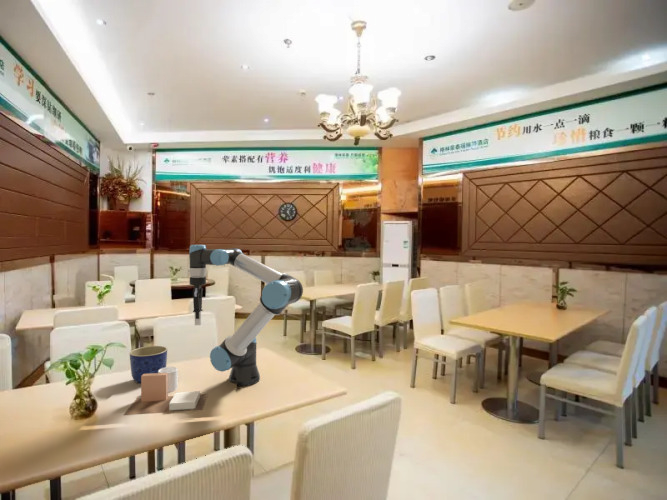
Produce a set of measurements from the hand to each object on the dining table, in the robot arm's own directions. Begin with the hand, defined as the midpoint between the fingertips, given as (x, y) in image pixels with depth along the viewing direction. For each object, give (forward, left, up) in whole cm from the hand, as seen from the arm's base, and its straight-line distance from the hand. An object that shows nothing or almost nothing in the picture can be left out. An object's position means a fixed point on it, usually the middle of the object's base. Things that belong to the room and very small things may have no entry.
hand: (197, 324), depth 182 cm
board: (+8, +23, -29) cm, 38 cm away
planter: (+25, -9, -30) cm, 40 cm away
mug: (+14, +7, -30) cm, 33 cm away
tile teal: (+1, +19, -27) cm, 33 cm away
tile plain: (+15, +18, -28) cm, 36 cm away
